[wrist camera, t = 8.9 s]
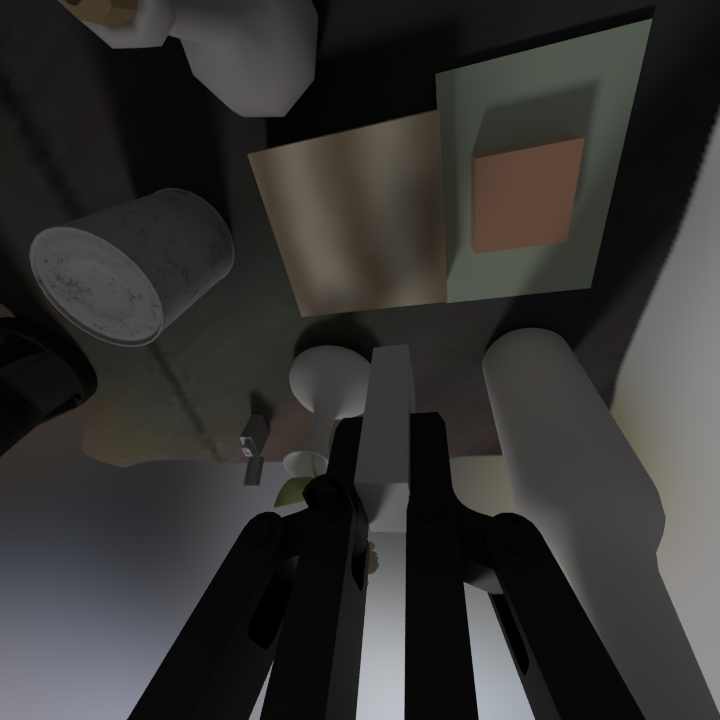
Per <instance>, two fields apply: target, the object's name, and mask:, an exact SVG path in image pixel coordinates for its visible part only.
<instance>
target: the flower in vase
mask: <svg viewBox="0 0 720 720" xmlns="http://www.w3.org/2000/svg"><path fill="white" fill-rule="evenodd" d="M370 368H371V364H370V363H369V362H368V361H367V360H366V359H365V358H364V357H362V356H361V355H360V354H358V353H356V352H355V351H352V350H350V349H347V348H344V347H340V346H334V345H324V346H317V347H313V348H310V349H307V350H305V351H303V352H302V353H300V354H299V355H298V356H297V357H296V358H295V359H294V361H293V362H292V364H291V366H290V370H289V380H290V386H291V389H292V391H293V393H294V395H295V397H296V398H297V399H298V400H299V401H300V403H301V404H302V405H303V406H304V407H306V408H307V409H308V410H310V411H311V412H313V413H314V415H313V420H312V423H311V426H310V428H309V431H308V433H307V435H306V437H305V438H304V440H303V442H302V443H301V444H300V446H299V447H298V448H297V449H295V450H294V451H292V452H290V453H288V454H287V455H286V456H285V457H284V460H283V465H284V467H285V469H286V470H287V471H288V472H289V473H290V474H291V475H293V476H294V477H295V478H291V479H290V480H288V481H287V482H286V483H285V484H284V486H283V487H282V489H281V490H280V492H279V494H278V496H277V499H276V502H275V505H274V507H280V506H284V505H289V504H294V503H299V502H302V501H305V499H304V497H303V495H302V493H303V491H304V489H305V486H306V485H307V484H308V483H309V482H310V481H311V480H312V479H314V478H316V477H317V476H319V475H323V474H326V470H327V466H328V462H329V437H330V432H331V428H332V425H333V422H334V420H335V419H343V418H351V417H355V416H358V415H360V414H362V413H364V410H365V403H366V396H367V389H368V382H369V375H370ZM374 547H375V545H374V543H373V542H369V548H370V556H369V568H368V574H371V573H374V572H375V571H376V570H377V568H378V566H379V564H378V562H377V560H378V557H377V554H376V552H374V551H372V550H373V549H374ZM367 586H368V580H367Z"/></svg>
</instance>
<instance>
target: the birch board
mask: <svg viewBox="0 0 720 720" xmlns="http://www.w3.org/2000/svg"><path fill="white" fill-rule="evenodd" d="M247 155H248V158H249V161H250V164H251V167H252V170H253V173H254V175H255V178H256V181H257V184H258V187H259V190H260V193H261V196H262V199H263V202H264V205H265V208H266V211H267V214H268V217H269V220H270V223H271V226H272V229H273V232H274V235H275V238H276V241H277V244H278V247H279V250H280V253H281V256H282V259H283V262H284V265H285V268H286V271H287V274H288V277H289V280H290V283H291V286H292V289H293V292H294V295H295V298H296V301H297V304H298V307H299V310H300V313H301V316H302V317H305V316H315V315H324V314H334V313H343V312H353V311H362V310H372V309H381V308H391V307H400V306H410V305H419V304H429V303H438V302H448V300H447V276H446V252H445V229H444V205H443V181H442V157H441V134H440V110H439V109H434V110H430V111H426V112H421V113H417V114H413V115H409V116H404V117H400V118H396V119H391V120H387V121H383V122H378V123H374V124H370V125H366V126H361V127H357V128H353V129H348V130H344V131H340V132H335V133H331V134H327V135H323V136H318V137H314V138H310V139H305V140H301V141H297V142H293V143H288V144H284V145H280V146H275V147H271V148H267V149H263V150H260V151H257V152H254V153H250V154H247Z"/></svg>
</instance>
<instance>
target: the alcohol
mask: <svg viewBox="0 0 720 720" xmlns="http://www.w3.org/2000/svg"><path fill="white" fill-rule="evenodd" d="M482 368H483V374H484V378H485V382H486V386H487V390H488V395H489V399H490V403H491V407H492V411H493V415H494V420H495V424H496V428H497V432H498V436H499V441H500V445H501V449H502V453H503V457H504V461H505V466H506V470H507V474H508V478H509V482H510V486H511V491H512V495H513V499H514V503H515V507H516V510H517V513H518V515H521V516H523V517H525V518H526V519H528V520H529V521H531V522H532V523H533V524H534V525H535V526H536V528H537V529H538V530H539V531H540V533H541V534H542V536H543V538H544V540H545V541H546V543H547V545H548V547H549V549H550V550H551V552H552V554H553V556H554V557H555V559H556V560H557V561H558V562H559V564H560V565H561V567H562V568H563V570H564V571H565V572H566V574H567V576H568V577H569V580H570V582H571V585H572V587H573V590H574V592H575V595H576V597H577V598H578V600H579V602H580V604H581V605H582V607H583V609H584V611H585V612H586V614H587V616H588V618H589V620H590V621H591V623H592V625H593V627H594V628H595V630H596V632H597V634H598V636H599V637H600V639H601V641H602V643H603V644H604V646H605V648H606V650H607V652H608V653H609V655H610V657H611V659H612V660H613V662H614V664H615V666H616V668H617V669H618V671H619V673H620V675H621V676H622V678H623V680H624V682H625V683H626V685H627V687H628V689H629V691H630V692H631V694H632V696H633V698H634V699H635V701H636V703H637V705H638V707H639V708H640V710H641V712H642V714H643V715H644V717H645V719H646V720H720V714H719V712H718V710H717V707H716V705H715V702H714V700H713V698H712V695H711V693H710V691H709V688H708V686H707V684H706V681H705V679H704V677H703V674H702V672H701V670H700V668H699V665H698V662H697V660H696V658H695V655H694V653H693V651H692V648H691V646H690V644H689V641H688V639H687V637H686V634H685V632H684V630H683V627H682V625H681V623H680V620H679V618H678V615H677V613H676V611H675V608H674V606H673V604H672V602H671V599H670V597H669V594H668V592H667V590H666V587H665V585H664V582H663V580H662V578H661V576H660V573H659V570H658V563H657V557H656V552H657V548H658V546H659V544H660V541H661V538H662V536H663V531H664V525H665V514H664V510H663V507H662V503H661V500H660V496H659V493H658V491H657V489H656V487H655V485H654V483H653V481H652V480H651V478H650V477H649V475H648V473H647V472H646V470H645V468H644V467H643V465H642V464H641V462H640V460H639V459H638V457H637V455H636V454H635V452H634V451H633V449H632V447H631V446H630V444H629V442H628V441H627V439H626V438H625V436H624V434H623V433H622V431H621V429H620V428H619V426H618V425H617V423H616V421H615V420H614V418H613V417H612V415H611V413H610V412H609V410H608V408H607V407H606V405H605V404H604V402H603V400H602V399H601V397H600V395H599V394H598V392H597V391H596V389H595V387H594V386H593V384H592V382H591V381H590V379H589V378H588V376H587V374H586V373H585V371H584V370H583V368H582V366H581V365H580V363H579V361H578V360H577V358H576V357H575V355H574V353H573V352H572V350H571V348H570V347H569V345H568V344H567V342H566V341H565V340H564V339H563V338H562V336H560V335H558V334H557V333H555V332H553V331H550V330H547V329H542V328H521V329H517V330H513V331H511V332H508V333H506V334H504V335H503V336H501V337H500V338H498V339H497V340H496V341H495V342H494V343H493V344H492V345H491V346H490V347H489V349H488V350H487V352H486V353H485V356H484V358H483V363H482Z"/></svg>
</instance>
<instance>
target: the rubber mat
mask: <svg viewBox="0 0 720 720" xmlns="http://www.w3.org/2000/svg"><path fill="white" fill-rule="evenodd" d="M652 19H653V18H652ZM652 19H648V20H644V21H640V22H636V23H632V24H629V25H625V26H621V27H617V28H613V29H609V30H605V31H601V32H597V33H593V34H590V35H586V36H582V37H578V38H574V39H570V40H566V41H562V42H558V43H554V44H550V45H547V46H543V47H539V48H535V49H531V50H527V51H523V52H519V53H515V54H511V55H507V56H504V57H500V58H496V59H492V60H488V61H484V62H480V63H476V64H472V65H468V66H465V67H461V68H457V69H453V70H449V71H445V72H441V73H437V74H435V79H436V101H437V109H439V110H440V134H441V157H442V181H443V205H444V229H445V252H446V276H447V300H448V302H446V303H451V302H460V301H470V300H480V299H489V298H499V297H508V296H518V295H528V294H537V293H547V292H556V291H566V290H576V289H585V288H591V284H592V280H593V275H594V271H595V266H596V262H597V258H598V253H599V249H600V245H601V240H602V236H603V232H604V227H605V223H606V219H607V214H608V210H609V206H610V201H611V197H612V193H613V188H614V184H615V180H616V175H617V171H618V166H619V162H620V158H621V153H622V149H623V145H624V140H625V136H626V132H627V127H628V123H629V119H630V114H631V110H632V106H633V101H634V97H635V93H636V88H637V84H638V80H639V75H640V71H641V67H642V62H643V58H644V53H645V49H646V45H647V40H648V36H649V32H650V27H651V23H652ZM567 135H576V136H581V137H585V140H584V145H583V151H582V157H581V163H580V169H579V175H578V181H577V186H576V192H575V198H574V204H573V210H572V216H571V222H570V227H569V233H568V239H567V242H560V243H552V244H545V245H537V246H530V247H523V248H515V249H508V250H500V251H493V252H485V253H478V254H474V251H473V249H472V246H471V154H476V153H481V152H486V151H491V150H496V149H501V148H506V147H511V146H516V145H521V144H526V143H532V142H537V141H542V140H547V139H552V138H557V137H562V136H567Z"/></svg>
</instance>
